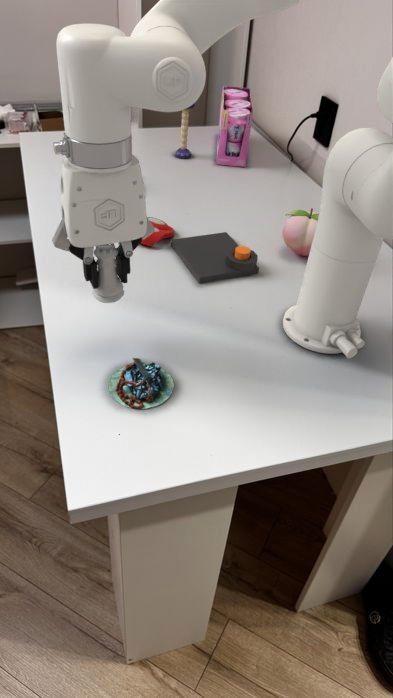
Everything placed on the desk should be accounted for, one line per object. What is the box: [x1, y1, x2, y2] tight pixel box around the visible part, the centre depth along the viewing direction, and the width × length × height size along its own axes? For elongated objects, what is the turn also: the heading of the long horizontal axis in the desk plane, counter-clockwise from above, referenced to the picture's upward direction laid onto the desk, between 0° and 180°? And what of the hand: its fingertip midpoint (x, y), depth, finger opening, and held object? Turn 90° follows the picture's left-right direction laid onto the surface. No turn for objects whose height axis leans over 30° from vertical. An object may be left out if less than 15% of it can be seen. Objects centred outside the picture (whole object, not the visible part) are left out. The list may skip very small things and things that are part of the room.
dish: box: [108, 357, 175, 410], centre depth 74 cm, size 8×7×8 cm
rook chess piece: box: [92, 243, 125, 304], centre depth 73 cm, size 4×4×8 cm
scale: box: [170, 231, 260, 285], centre depth 100 cm, size 14×12×3 cm
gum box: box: [216, 85, 254, 168], centre depth 141 cm, size 24×8×14 cm, turn 177°
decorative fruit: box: [281, 207, 319, 257], centre depth 102 cm, size 9×8×10 cm
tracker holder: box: [139, 216, 175, 247], centre depth 105 cm, size 12×4×10 cm
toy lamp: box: [174, 102, 196, 160], centre depth 135 cm, size 5×5×17 cm
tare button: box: [235, 245, 252, 260], centre depth 97 cm, size 3×3×2 cm
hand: (107, 279), depth 74 cm, fingers closed on rook chess piece, 3 cm apart
